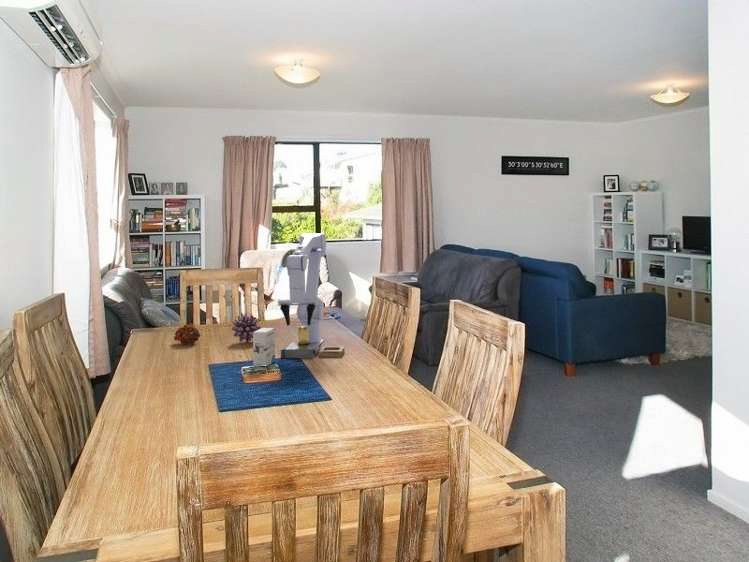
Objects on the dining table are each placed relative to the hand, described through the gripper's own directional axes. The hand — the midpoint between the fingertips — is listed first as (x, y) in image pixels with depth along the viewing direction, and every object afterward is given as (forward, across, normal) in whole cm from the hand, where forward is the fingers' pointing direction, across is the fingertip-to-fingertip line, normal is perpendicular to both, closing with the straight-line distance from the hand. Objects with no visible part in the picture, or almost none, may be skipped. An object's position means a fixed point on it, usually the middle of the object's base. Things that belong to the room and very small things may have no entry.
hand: (298, 325), depth 227 cm
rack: (+10, +12, -3) cm, 16 cm away
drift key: (+10, -1, -6) cm, 12 cm away
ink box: (+10, -8, -17) cm, 22 cm away
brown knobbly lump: (+11, -50, +18) cm, 54 cm away
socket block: (+10, +1, -2) cm, 11 cm away
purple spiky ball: (+11, -26, +20) cm, 35 cm away
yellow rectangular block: (+10, +1, +1) cm, 10 cm away
